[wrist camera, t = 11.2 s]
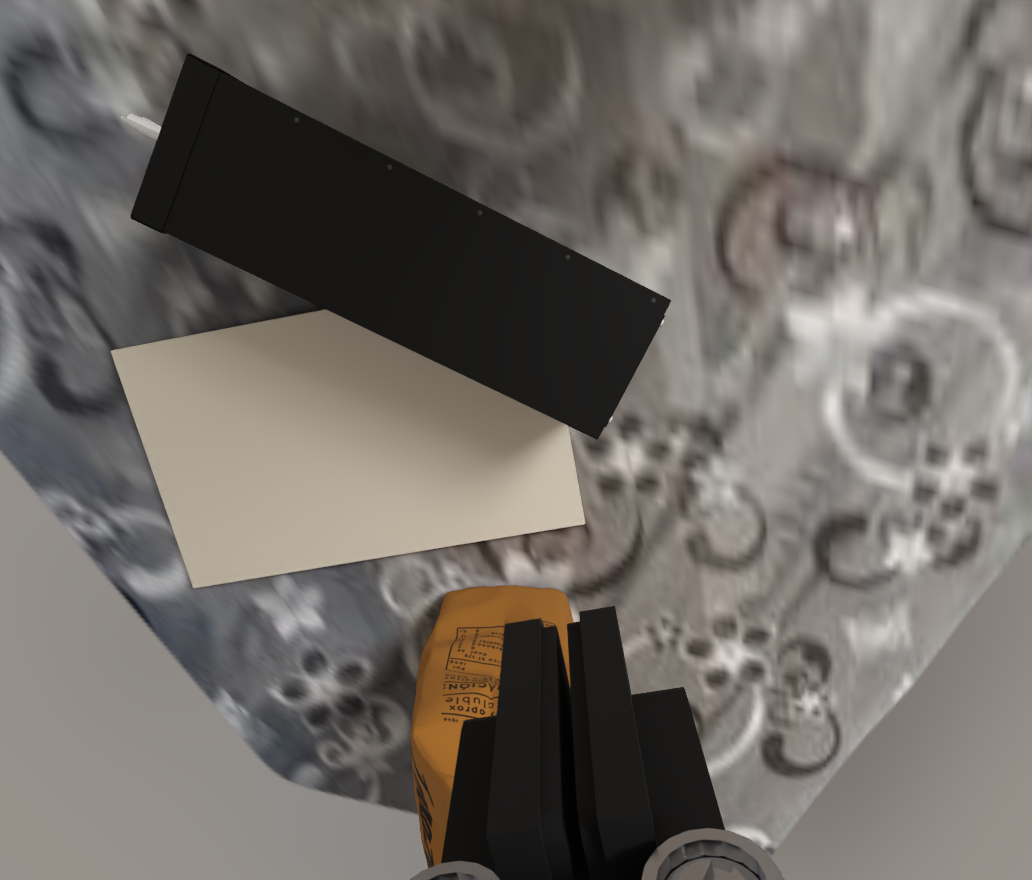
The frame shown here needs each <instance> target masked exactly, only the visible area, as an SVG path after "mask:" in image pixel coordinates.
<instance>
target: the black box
mask: <svg viewBox="0 0 1032 880" xmlns="http://www.w3.org/2000/svg"><path fill="white" fill-rule="evenodd" d="M120 120H121V121H122V122H124V123H125V124H127V125H128V126H130V127H131V128H133V129H135V130H136V131H138V132H140V133H142V134H144V135H146V136H148V137H150V138H152V139H154V140H156V144H155V147H154V150H153V153H152V156H151V159H150V161H149V164H148V167H147V170H146V173H145V176H144V179H143V181H142V184H141V187H140V190H139V193H138V196H137V199H136V201H135V204H134V207H133V210H132V213H131V219H133V220H135V221H137V222H139V223H141V224H143V225H146V226H148V227H150V228H152V229H154V230H156V231H158V232H160V233H164V234H170V235H172V236H174V237H176V238H178V239H180V240H182V241H184V242H186V243H188V244H190V245H192V246H195V247H197V248H199V249H201V250H203V251H205V252H207V253H209V254H211V255H213V256H215V257H217V258H220V259H222V260H224V261H226V262H228V263H230V264H232V265H234V266H236V267H238V268H240V269H242V270H245V271H247V272H249V273H251V274H253V275H255V276H257V277H259V278H261V279H263V280H265V281H268V282H270V283H272V284H274V285H276V286H278V287H280V288H282V289H284V290H286V291H288V292H290V293H293V294H295V295H297V296H299V297H301V298H303V299H305V300H307V301H309V302H311V303H313V304H315V305H318V306H320V307H322V308H324V309H326V310H328V311H330V312H332V313H334V314H336V315H338V316H341V317H343V318H345V319H347V320H349V321H351V322H353V323H355V324H357V325H359V326H361V327H363V328H366V329H368V330H370V331H372V332H374V333H376V334H378V335H380V336H382V337H384V338H386V339H388V340H391V341H393V342H395V343H397V344H399V345H401V346H403V347H405V348H407V349H409V350H411V351H413V352H416V353H418V354H420V355H422V356H424V357H426V358H428V359H430V360H432V361H434V362H436V363H439V364H441V365H443V366H445V367H447V368H449V369H451V370H453V371H455V372H457V373H459V374H461V375H464V376H466V377H468V378H470V379H472V380H474V381H476V382H478V383H480V384H482V385H484V386H486V387H489V388H491V389H493V390H495V391H497V392H499V393H501V394H503V395H505V396H507V397H509V398H511V399H514V400H516V401H518V402H520V403H522V404H524V405H526V406H528V407H530V408H532V409H534V410H537V411H539V412H541V413H543V414H545V415H547V416H549V417H551V418H553V419H555V420H557V421H559V422H562V423H564V424H566V425H568V426H570V427H572V428H574V429H576V430H578V431H580V432H582V433H584V434H587V435H589V436H591V437H593V438H595V439H598V438H599V436H600V434H601V432H602V430H603V429H604V427H606V426H607V424H608V423H610V422H611V420H612V415H613V413H614V411H615V409H616V407H617V405H618V403H619V401H620V400H621V398H622V396H623V394H624V392H625V390H626V388H627V386H628V385H629V383H630V381H631V379H632V377H633V375H634V373H635V371H636V369H637V368H638V366H639V364H640V362H641V360H642V358H643V356H644V354H645V352H646V351H647V349H648V347H649V345H650V343H651V341H652V339H653V337H654V336H655V334H656V332H657V330H658V328H659V326H660V327H661V326H662V324H663V322H664V320H663V319H664V317H665V315H664V314H665V312H666V310H667V308H668V306H669V304H670V302H671V300H670V299H668V298H666V297H664V296H662V295H660V294H658V293H656V292H654V291H652V290H650V289H648V288H646V287H644V286H642V285H640V284H638V283H636V282H634V281H632V280H630V279H628V278H626V277H624V276H622V275H621V274H619V273H616V272H614V271H612V270H610V269H609V268H607V267H605V266H603V265H601V264H599V263H597V262H595V261H593V260H591V259H589V258H587V257H585V256H583V255H581V254H579V253H577V252H575V251H573V250H571V249H569V248H567V247H565V246H563V245H561V244H559V243H557V242H555V241H554V240H552V239H549V238H547V237H545V236H543V235H541V234H540V233H538V232H536V231H534V230H532V229H530V228H528V227H526V226H524V225H522V224H520V223H518V222H516V221H514V220H512V219H510V218H508V217H506V216H504V215H502V214H500V213H498V212H496V211H494V210H492V209H490V208H488V207H487V206H485V205H483V204H480V203H478V202H476V201H474V200H473V199H471V198H469V197H467V196H465V195H463V194H461V193H459V192H457V191H455V190H453V189H451V188H449V187H447V186H445V185H443V184H441V183H439V182H437V181H435V180H433V179H431V178H429V177H427V176H425V175H423V174H421V173H419V172H418V171H416V170H413V169H411V168H409V167H407V166H405V165H404V164H402V163H400V162H398V161H396V160H394V159H392V158H390V157H388V156H386V155H384V154H382V153H380V152H378V151H376V150H374V149H372V148H370V147H368V146H366V145H364V144H362V143H360V142H358V141H356V140H354V139H352V138H351V137H349V136H346V135H344V134H342V133H340V132H338V131H337V130H335V129H333V128H331V127H329V126H327V125H325V124H323V123H321V122H319V121H317V120H315V119H313V118H311V117H309V116H307V115H305V114H303V113H301V112H299V111H297V110H295V109H293V108H291V107H289V106H287V105H285V104H283V103H282V102H280V101H277V100H275V99H273V98H271V97H269V96H268V95H266V94H264V93H262V92H260V91H258V90H256V89H254V88H252V87H250V86H248V85H246V84H244V83H243V82H241V81H239V80H238V79H236V78H235V77H233V76H231V75H230V74H228V73H226V72H225V71H223V70H221V69H220V68H218V67H216V66H214V65H212V64H210V63H208V62H206V61H204V60H202V59H200V58H198V57H196V56H194V55H192V54H190V53H188V54H187V56H186V58H185V61H184V64H183V67H182V70H181V73H180V76H179V78H178V81H177V84H176V87H175V90H174V93H173V96H172V98H171V101H170V104H169V107H168V110H167V113H166V116H165V118H164V121H163V124H162V127H161V126H159V125H158V124H156V123H154V122H152V121H150V120H149V119H147V118H145V117H142V118H140V117H138V116H136V115H134V114H132V113H131V114H129V115H128V116H127V117H123V116H121V115H120Z"/></svg>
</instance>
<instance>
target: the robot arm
mask: <svg viewBox="0 0 1032 880" xmlns="http://www.w3.org/2000/svg"><path fill="white" fill-rule="evenodd" d="M579 613H580V622H574V623H568V624H567V635H568V653H569V671H570V684H569V680H568V675H567V670H566V666H565V661H564V656H563V652H562V647H561V642H560V638H559V633H558V629H557V626H549V627H544V625H543V622H542V619H541V618H538V619H532V620H526V621H519V622H513V623H507V624H505V628H504V639H503V650H502V662H501V673H500V684H499V695H498V707H497V715H494V716H488V717H481V718H474V719H468V720H465V721H464V722H463V725H462V729H461V735H460V741H459V748H458V755H457V761H456V768H455V774H454V781H453V787H452V794H451V801H450V807H449V814H448V820H447V827H446V833H445V840H444V847H443V853H442V860H441V864H438V865H436V866H433V867H431V868H428V869H426V870H423V871H421V872H420V873H419V874H417V875H416V876H414V877H413V878H411V879H410V880H784V878H783V876H782V874H781V872H780V870H779V869H778V867H777V865H776V864H775V863H774V861H773V860H772V859H771V857H770V856H769V855H768V854H767V852H766V851H765V850H764V849H762V848H761V847H760V846H758V845H757V844H756V843H754V842H753V841H751V840H750V839H749V838H746V837H744V836H741V835H739V834H736V833H734V832H731V831H728V830H725V828H724V825H723V821H722V818H721V814H720V811H719V807H718V804H717V800H716V797H715V793H714V790H713V786H712V783H711V779H710V776H709V772H708V769H707V765H706V761H705V758H704V754H703V751H702V747H701V744H700V740H699V737H698V733H697V730H696V726H695V723H694V719H693V716H692V712H691V709H690V705H689V702H688V698H687V695H686V692H685V689H684V687H681V688H674V689H667V690H661V691H654V692H647V693H641V694H634V695H631V690H630V684H629V679H628V674H627V668H626V663H625V658H624V652H623V647H622V642H621V636H620V631H619V626H618V620H617V615H616V610H615V606H612V607H606V608H600V609H594V610H587V611H581V612H579Z"/></svg>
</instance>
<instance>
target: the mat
mask: <svg viewBox="0 0 1032 880" xmlns="http://www.w3.org/2000/svg"><path fill="white" fill-rule="evenodd" d="M111 354H112V357H113V360H114V363H115V366H116V368H117V371H118V374H119V377H120V380H121V383H122V386H123V388H124V391H125V394H126V397H127V400H128V403H129V406H130V408H131V411H132V414H133V417H134V420H135V423H136V426H137V429H138V431H139V434H140V437H141V440H142V443H143V446H144V449H145V451H146V454H147V457H148V460H149V463H150V466H151V469H152V471H153V474H154V477H155V480H156V483H157V486H158V489H159V492H160V494H161V497H162V500H163V503H164V506H165V509H166V512H167V514H168V517H169V520H170V523H171V526H172V529H173V532H174V534H175V537H176V540H177V543H178V546H179V549H180V552H181V555H182V557H183V560H184V563H185V566H186V569H187V572H188V575H189V577H190V580H191V583H192V586H193V588H199V587H205V586H211V585H217V584H223V583H229V582H236V581H242V580H248V579H254V578H260V577H266V576H272V575H278V574H284V573H290V572H296V571H302V570H309V569H315V568H321V567H327V566H333V565H339V564H345V563H351V562H357V561H363V560H369V559H376V558H382V557H388V556H394V555H400V554H406V553H412V552H418V551H424V550H430V549H436V548H442V547H449V546H455V545H461V544H467V543H473V542H479V541H485V540H491V539H497V538H503V537H509V536H516V535H522V534H528V533H534V532H540V531H546V530H552V529H558V528H564V527H570V526H576V525H582V524H585V519H584V513H583V508H582V502H581V496H580V491H579V485H578V480H577V474H576V468H575V463H574V457H573V451H572V446H571V440H570V434H569V429H568V425H566V424H564V423H562V422H559V421H557V420H555V419H553V418H551V417H549V416H547V415H545V414H543V413H541V412H539V411H537V410H534V409H532V408H530V407H528V406H526V405H524V404H522V403H520V402H518V401H516V400H514V399H511V398H509V397H507V396H505V395H503V394H501V393H499V392H497V391H495V390H493V389H491V388H489V387H486V386H484V385H482V384H480V383H478V382H476V381H474V380H472V379H470V378H468V377H466V376H464V375H461V374H459V373H457V372H455V371H453V370H451V369H449V368H447V367H445V366H443V365H441V364H439V363H436V362H434V361H432V360H430V359H428V358H426V357H424V356H422V355H420V354H418V353H416V352H413V351H411V350H409V349H407V348H405V347H403V346H401V345H399V344H397V343H395V342H393V341H391V340H388V339H386V338H384V337H382V336H380V335H378V334H376V333H374V332H372V331H370V330H368V329H366V328H363V327H361V326H359V325H357V324H355V323H353V322H351V321H349V320H347V319H345V318H343V317H341V316H338V315H336V314H334V313H332V312H330V311H328V310H326V309H323V310H318V311H313V312H307V313H302V314H297V315H292V316H287V317H281V318H276V319H271V320H266V321H261V322H255V323H250V324H245V325H240V326H235V327H229V328H224V329H219V330H214V331H209V332H204V333H198V334H193V335H188V336H183V337H178V338H172V339H167V340H162V341H157V342H152V343H146V344H141V345H136V346H131V347H126V348H120V349H115V350H112V351H111Z"/></svg>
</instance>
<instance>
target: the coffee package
mask: <svg viewBox="0 0 1032 880" xmlns="http://www.w3.org/2000/svg"><path fill="white" fill-rule="evenodd" d="M538 618H541V619H542V622H543V625H544V627H549V626H557V629H558V633H559V638H560V642H561V647H562V652H563V656H564V661H565V666H566V670H567V675H568V680H569V684H570V671H569V653H568V635H567V624H568V623H573V618H572V614H571V610H570V606H569V602H568V599H567V596H566V595H565V594H564V593H563V592H561V591H559V590H556V589H552V588H533V587H524V586H497V587H485V586H484V587H471V588H467V589H463V590H458V591H452V592H448V593H447V594H446V595H445V596H444V599H443V601H442V605H441V610H440V615H439V618H438V619H437V621H436V624H435V626H434V629H433V631H432V632H431V634H430V636H429V638H428V640H427V642H426V645H425V647H424V650H423V652H422V656H421V661H420V666H419V670H418V677H417V684H416V691H415V698H414V705H413V714H412V723H411V747H412V768H413V780H414V794H415V800H416V805H417V810H418V814H419V820H420V831H421V838H422V844H423V848H424V852H425V855H426V859H427V865H428V868H431V867H433V866H436V865H438V864H441V860H442V853H443V847H444V840H445V833H446V827H447V820H448V814H449V807H450V801H451V794H452V787H453V781H454V774H455V768H456V761H457V755H458V748H459V741H460V735H461V729H462V725H463V722H464V721H465V720H468V719H474V718H481V717H488V716H494V715H497V707H498V695H499V684H500V673H501V662H502V650H503V639H504V628H505V624H507V623H513V622H519V621H526V620H532V619H538Z"/></svg>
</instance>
